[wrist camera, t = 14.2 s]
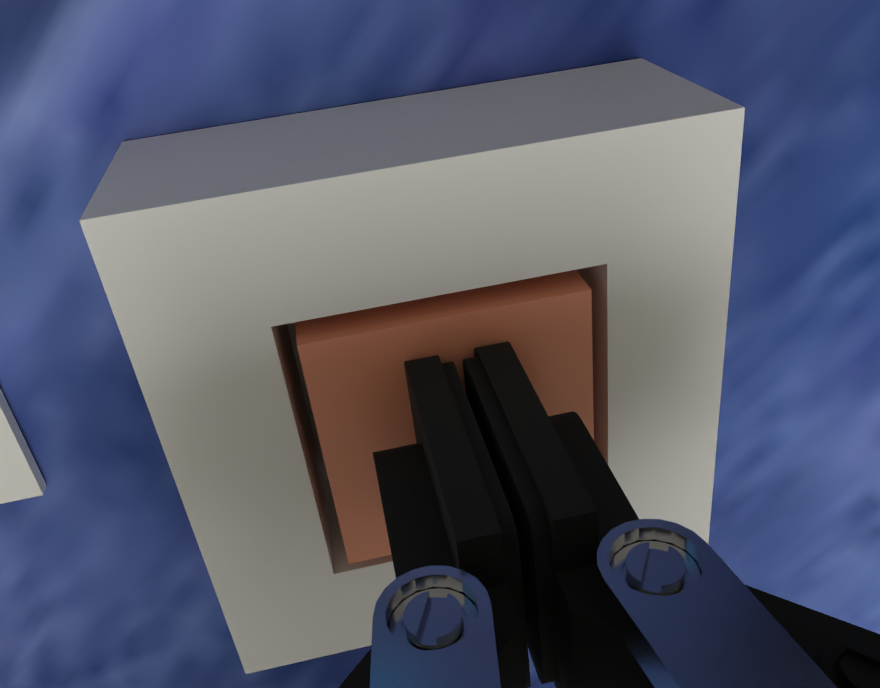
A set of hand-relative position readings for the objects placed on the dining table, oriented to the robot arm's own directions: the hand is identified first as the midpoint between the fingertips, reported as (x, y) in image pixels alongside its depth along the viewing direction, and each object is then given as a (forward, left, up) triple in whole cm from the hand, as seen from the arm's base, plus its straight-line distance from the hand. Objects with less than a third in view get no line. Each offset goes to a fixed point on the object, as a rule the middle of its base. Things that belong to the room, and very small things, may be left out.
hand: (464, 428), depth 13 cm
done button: (0, 0, -2) cm, 2 cm away
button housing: (0, 0, -4) cm, 4 cm away
